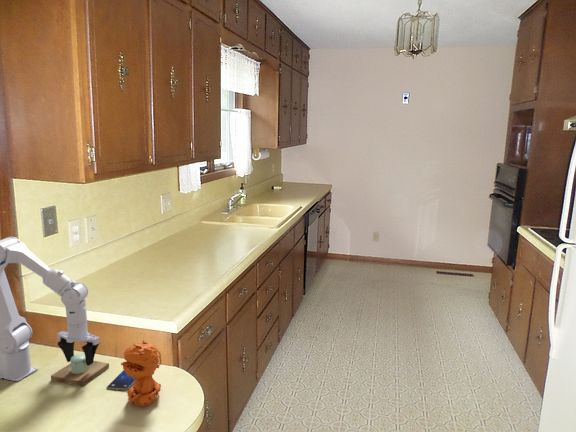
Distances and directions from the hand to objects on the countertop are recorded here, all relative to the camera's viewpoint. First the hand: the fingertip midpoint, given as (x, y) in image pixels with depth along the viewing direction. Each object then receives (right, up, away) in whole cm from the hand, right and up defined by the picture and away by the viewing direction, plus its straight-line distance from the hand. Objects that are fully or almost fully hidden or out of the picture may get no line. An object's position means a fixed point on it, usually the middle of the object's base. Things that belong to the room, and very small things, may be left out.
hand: (80, 362), depth 142 cm
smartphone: (+16, -5, -1) cm, 17 cm away
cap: (0, -2, 0) cm, 2 cm away
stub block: (0, -4, +1) cm, 4 cm away
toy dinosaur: (+25, -7, -14) cm, 29 cm away
